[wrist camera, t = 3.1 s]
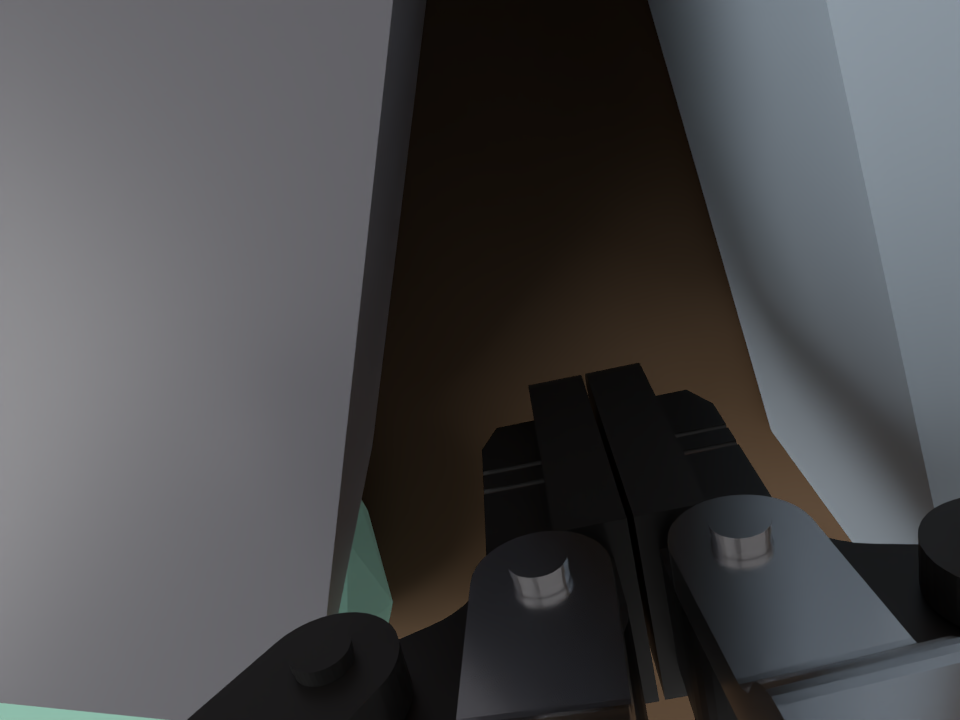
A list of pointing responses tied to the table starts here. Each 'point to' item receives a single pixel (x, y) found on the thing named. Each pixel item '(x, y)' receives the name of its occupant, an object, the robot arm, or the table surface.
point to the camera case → (188, 330)
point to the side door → (837, 232)
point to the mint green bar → (359, 595)
